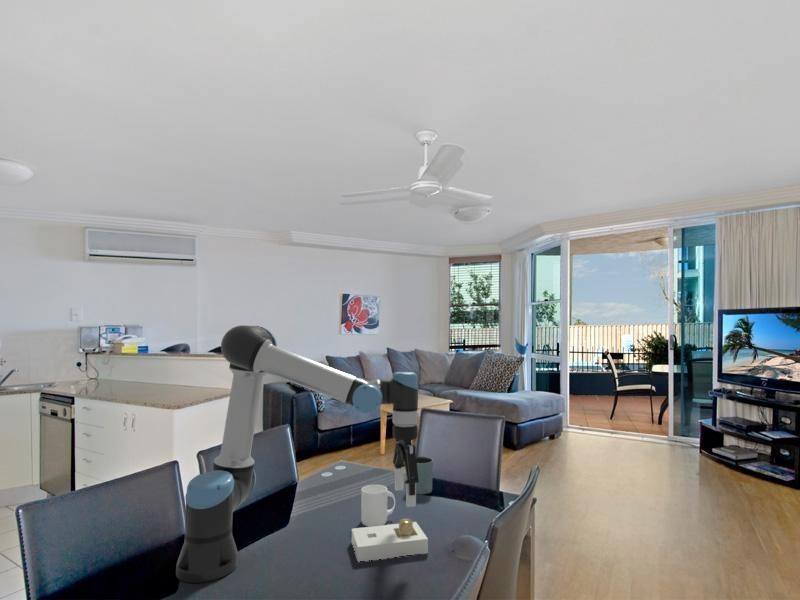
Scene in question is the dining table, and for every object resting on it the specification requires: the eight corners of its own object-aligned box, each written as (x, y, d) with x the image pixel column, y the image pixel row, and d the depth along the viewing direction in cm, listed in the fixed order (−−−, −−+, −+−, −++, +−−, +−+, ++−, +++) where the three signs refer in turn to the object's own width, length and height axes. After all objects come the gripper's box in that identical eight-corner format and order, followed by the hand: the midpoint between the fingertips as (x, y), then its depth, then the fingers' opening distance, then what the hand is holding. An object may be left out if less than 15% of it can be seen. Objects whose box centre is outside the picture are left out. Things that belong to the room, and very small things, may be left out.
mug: (400, 523, 146) (400, 489, 147) (366, 529, 141) (366, 494, 142) (390, 513, 154) (390, 481, 155) (357, 519, 149) (357, 486, 150)
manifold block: (357, 562, 121) (357, 547, 121) (351, 542, 132) (351, 528, 132) (428, 553, 125) (427, 538, 126) (416, 535, 137) (416, 521, 137)
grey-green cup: (434, 495, 172) (433, 463, 173) (408, 494, 172) (408, 463, 173) (432, 486, 182) (432, 456, 183) (407, 486, 182) (407, 456, 183)
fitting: (400, 550, 127) (400, 525, 128) (397, 543, 131) (397, 519, 132) (414, 548, 128) (414, 523, 129) (410, 542, 132) (410, 517, 133)
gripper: (430, 432, 122) (430, 512, 120) (406, 416, 146) (406, 483, 144) (403, 433, 120) (403, 515, 118) (384, 417, 144) (383, 484, 142)
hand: (404, 497), depth 131 cm, fingers open, 13 cm apart
